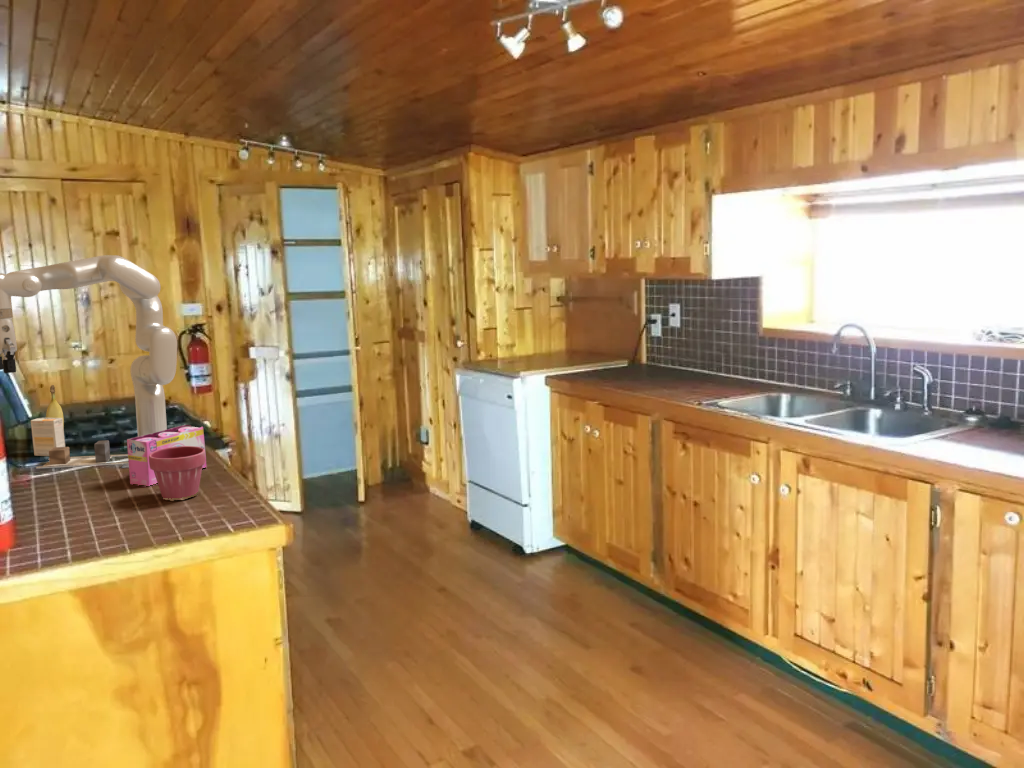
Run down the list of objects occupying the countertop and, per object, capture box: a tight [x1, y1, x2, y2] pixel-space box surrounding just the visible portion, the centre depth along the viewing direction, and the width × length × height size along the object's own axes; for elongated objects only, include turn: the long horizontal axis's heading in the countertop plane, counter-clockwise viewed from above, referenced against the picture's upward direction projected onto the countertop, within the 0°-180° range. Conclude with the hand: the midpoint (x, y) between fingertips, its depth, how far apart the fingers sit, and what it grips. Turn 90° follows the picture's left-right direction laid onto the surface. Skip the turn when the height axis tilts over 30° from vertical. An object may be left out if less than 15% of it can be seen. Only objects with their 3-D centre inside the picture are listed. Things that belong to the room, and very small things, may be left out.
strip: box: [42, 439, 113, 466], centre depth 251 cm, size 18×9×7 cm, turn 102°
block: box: [48, 446, 71, 465], centre depth 250 cm, size 4×4×4 cm
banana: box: [45, 384, 65, 429], centre depth 277 cm, size 23×6×20 cm, turn 23°
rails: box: [35, 453, 129, 469], centre depth 252 cm, size 30×12×2 cm, turn 102°
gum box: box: [126, 424, 207, 487], centre depth 239 cm, size 24×8×14 cm, turn 157°
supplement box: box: [30, 417, 66, 457], centre depth 260 cm, size 8×5×13 cm, turn 84°
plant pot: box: [149, 446, 207, 499], centre depth 218 cm, size 14×14×13 cm
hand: (3, 371), depth 240 cm, fingers open, 9 cm apart
